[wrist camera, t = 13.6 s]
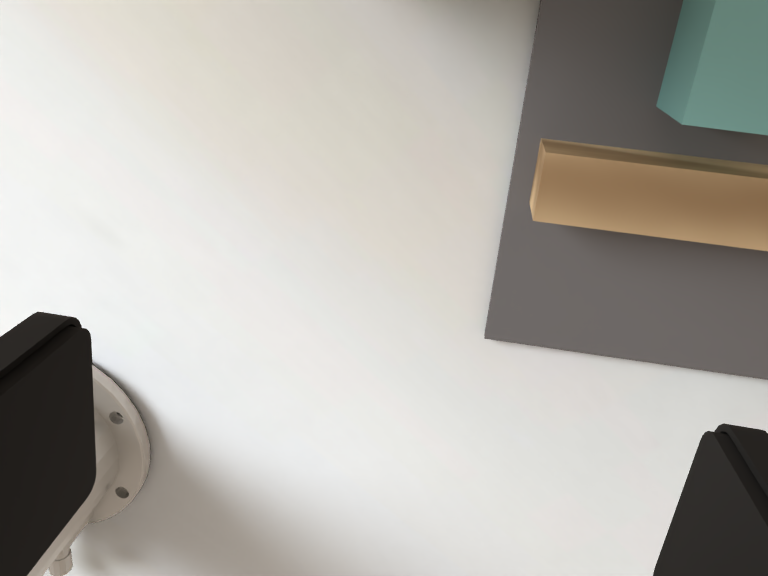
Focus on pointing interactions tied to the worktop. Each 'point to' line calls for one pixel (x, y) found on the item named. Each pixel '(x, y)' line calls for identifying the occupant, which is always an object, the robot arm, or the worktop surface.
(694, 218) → the oak ledge
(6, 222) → the worktop surface
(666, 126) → the rubber mat
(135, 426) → the robot arm
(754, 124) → the teal block
